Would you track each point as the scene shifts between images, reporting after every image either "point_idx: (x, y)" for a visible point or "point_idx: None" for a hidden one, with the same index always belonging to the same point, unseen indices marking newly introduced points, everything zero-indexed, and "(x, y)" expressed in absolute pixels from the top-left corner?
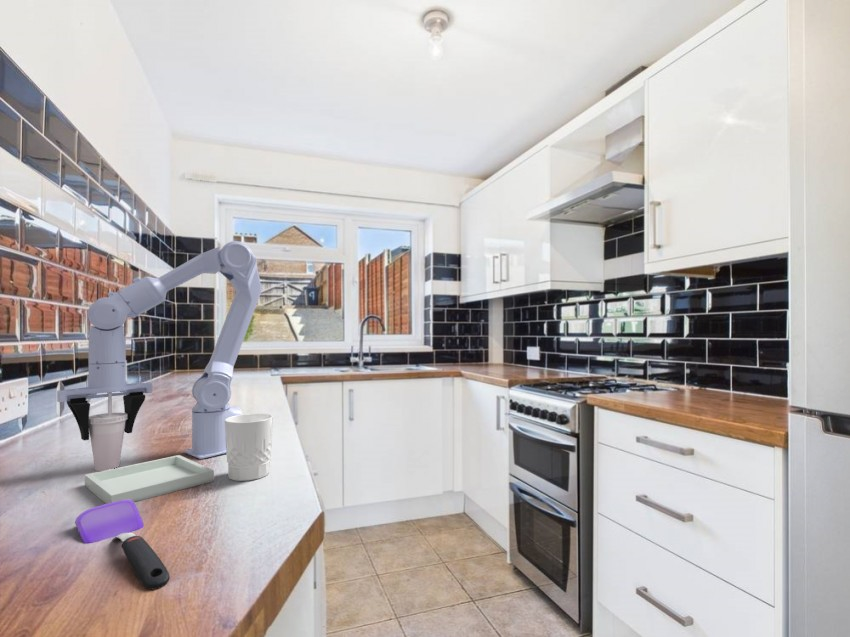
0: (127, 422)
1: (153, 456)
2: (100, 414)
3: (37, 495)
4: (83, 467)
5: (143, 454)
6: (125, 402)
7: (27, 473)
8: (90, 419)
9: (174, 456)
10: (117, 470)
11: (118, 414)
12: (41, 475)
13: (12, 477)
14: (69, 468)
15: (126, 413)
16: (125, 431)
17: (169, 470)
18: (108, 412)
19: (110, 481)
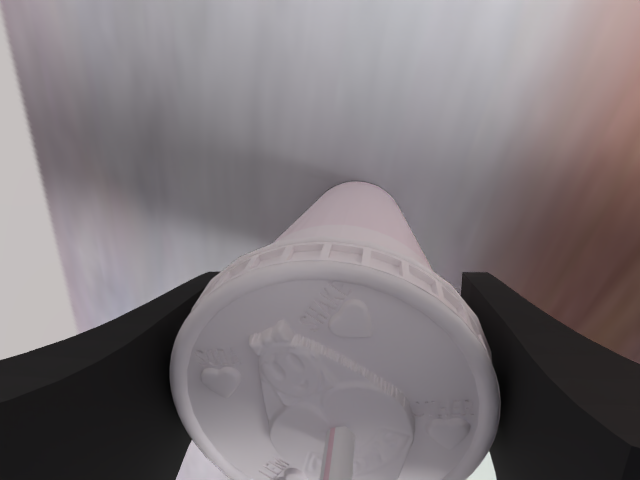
0: None
1: (584, 185)
2: (277, 350)
3: None
4: (277, 131)
5: (576, 89)
6: (559, 474)
7: (71, 37)
8: (195, 443)
9: None
10: None
11: (425, 403)
12: (129, 132)
13: (28, 65)
14: (225, 96)
15: (488, 440)
16: (462, 294)
17: (492, 468)
18: (324, 465)
19: None
